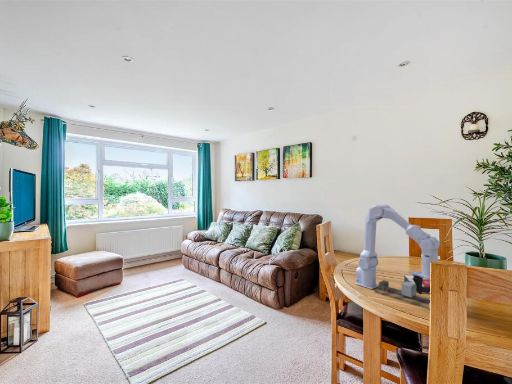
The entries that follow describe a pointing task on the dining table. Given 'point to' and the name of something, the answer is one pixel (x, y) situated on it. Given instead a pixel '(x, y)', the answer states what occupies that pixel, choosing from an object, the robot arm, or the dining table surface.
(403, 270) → the dining table surface
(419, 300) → the cord board
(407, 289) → the grey block
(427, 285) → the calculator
